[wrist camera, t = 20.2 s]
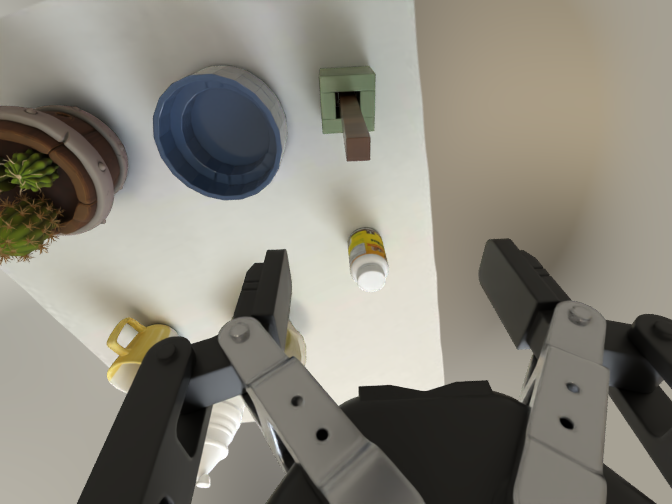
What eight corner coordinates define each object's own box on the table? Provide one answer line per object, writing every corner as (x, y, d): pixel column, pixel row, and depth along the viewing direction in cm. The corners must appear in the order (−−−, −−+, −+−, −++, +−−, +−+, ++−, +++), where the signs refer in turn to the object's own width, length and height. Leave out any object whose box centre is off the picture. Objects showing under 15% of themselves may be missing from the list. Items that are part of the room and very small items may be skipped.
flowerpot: (-5, 91, 40) (-229, 145, 24) (122, 86, 40) (-15, 137, 24) (58, 200, 49) (-76, 294, 32) (163, 196, 49) (82, 288, 32)
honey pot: (232, 380, 76) (209, 469, 61) (253, 409, 83) (237, 494, 68) (180, 389, 77) (146, 477, 62) (205, 417, 84) (180, 501, 70)
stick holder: (319, 68, 39) (318, 76, 35) (369, 65, 39) (375, 73, 35) (323, 120, 43) (322, 134, 38) (368, 117, 43) (374, 131, 38)
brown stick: (338, 87, 41) (346, 138, 25) (352, 86, 41) (370, 136, 25) (338, 103, 42) (346, 161, 26) (353, 102, 42) (370, 160, 26)
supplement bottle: (387, 244, 55) (399, 285, 46) (359, 259, 56) (364, 302, 48) (370, 219, 52) (378, 259, 44) (340, 237, 54) (343, 278, 45)
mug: (198, 346, 68) (179, 394, 60) (151, 352, 69) (126, 400, 61) (167, 298, 60) (141, 345, 52) (115, 306, 61) (80, 353, 53)
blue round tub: (162, 67, 39) (131, 78, 33) (279, 61, 39) (271, 70, 33) (196, 178, 47) (177, 202, 41) (293, 173, 47) (288, 197, 41)
